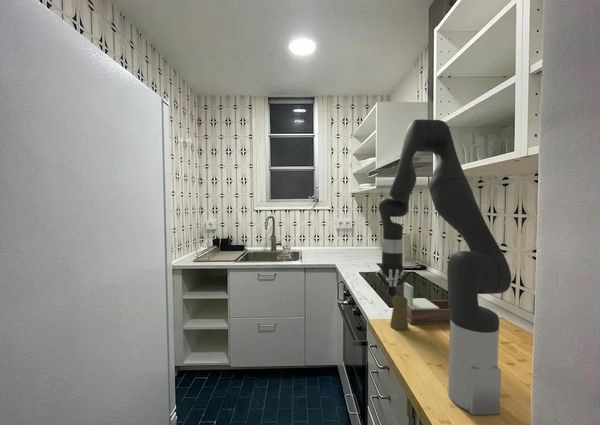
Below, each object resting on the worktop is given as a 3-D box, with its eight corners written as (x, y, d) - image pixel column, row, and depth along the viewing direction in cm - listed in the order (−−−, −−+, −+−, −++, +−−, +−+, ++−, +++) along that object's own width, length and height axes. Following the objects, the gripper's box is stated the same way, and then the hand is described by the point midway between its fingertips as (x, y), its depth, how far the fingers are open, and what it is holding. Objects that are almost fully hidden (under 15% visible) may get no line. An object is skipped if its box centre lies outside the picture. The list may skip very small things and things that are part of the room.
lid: (439, 309, 105) (439, 288, 105) (412, 309, 105) (413, 288, 104) (424, 299, 116) (425, 281, 116) (401, 299, 115) (401, 281, 115)
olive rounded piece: (410, 331, 99) (411, 299, 98) (393, 330, 99) (393, 299, 98) (404, 323, 105) (405, 293, 104) (388, 323, 105) (388, 293, 105)
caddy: (475, 323, 105) (476, 310, 105) (410, 324, 104) (410, 310, 104) (456, 311, 117) (456, 299, 117) (397, 312, 116) (397, 299, 116)
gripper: (378, 252, 105) (377, 299, 105) (413, 252, 106) (412, 299, 106) (372, 249, 112) (371, 292, 113) (405, 249, 113) (404, 292, 114)
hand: (391, 295), depth 110 cm, fingers closed
